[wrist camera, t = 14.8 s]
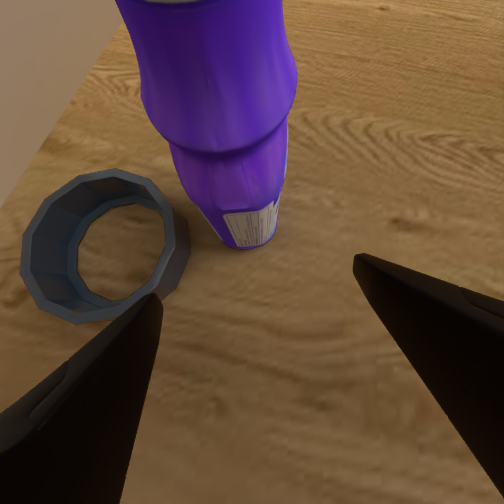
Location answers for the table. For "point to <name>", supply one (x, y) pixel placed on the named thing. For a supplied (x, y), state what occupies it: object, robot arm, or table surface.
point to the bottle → (219, 104)
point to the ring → (71, 233)
